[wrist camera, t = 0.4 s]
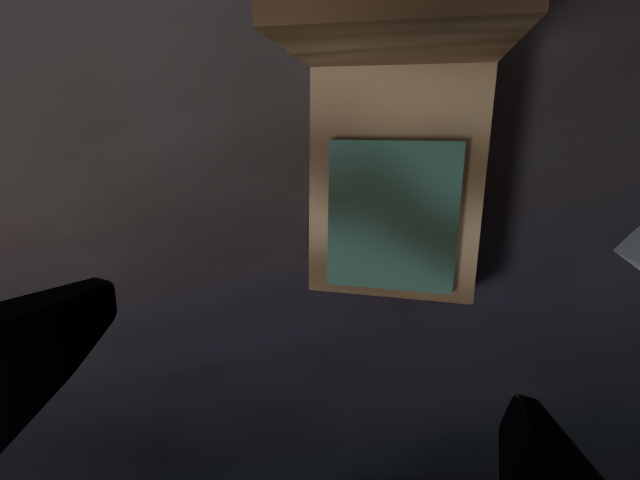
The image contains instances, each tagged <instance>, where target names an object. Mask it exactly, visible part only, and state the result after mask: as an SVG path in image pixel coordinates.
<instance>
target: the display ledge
mask: <svg viewBox="0 0 640 480" xmlns="http://www.w3.org/2000/svg"><path fill="white" fill-rule="evenodd" d="M549 1H550V0H252V21H253V27H254V28H255V29H257V30H258V31H259V32H261V33H262V34H264V35H265V36H267V37H268V38H269V39H271V40H272V41H274V42H275V43H277V44H278V45H279V46H281V47H282V48H284V49H285V50H287V51H288V52H289V53H291V54H292V55H294V56H295V57H297V58H298V59H299V60H301V61H302V62H304V63H305V64H307V65H308V66H309V67H310V195H309V290H319V291H330V292H341V293H352V294H363V295H374V296H385V297H396V298H407V299H418V300H429V301H440V302H451V303H462V304H473V298H474V288H475V279H476V269H477V259H478V249H479V240H480V230H481V220H482V211H483V201H484V191H485V182H486V172H487V162H488V152H489V143H490V133H491V123H492V114H493V104H494V94H495V85H496V75H497V65H498V62H499V61H500V60H501V59H502V58H503V57H504V56H505V55H506V54H507V53H508V52H509V51H510V50H511V49H512V48H513V47H514V46H515V45H516V44H517V43H518V42H519V41H520V40H521V39H522V38H523V37H524V36H525V35H526V34H527V33H528V32H529V31H530V30H531V29H532V28H533V27H534V26H535V25H536V24H537V23H538V22H539V21H540V20H541V19H542V18H543V17H544V16H545V15H546V14H547V13H548V9H549Z"/></svg>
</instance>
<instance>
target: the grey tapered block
mask: <svg viewBox="0 0 640 480" xmlns="http://www.w3.org/2000/svg"><path fill="white" fill-rule="evenodd" d="M614 251H615V252H616V253H618V254H619V255H620V256H622V257H623V258H624V259H625V260H627V261H628V262H629V263H631V264H632V265H633V266H635V267H636V268H637V269H638V270H640V226H639V227H637V228H636V229H635V230H634V231H633V232H632V233H631V234H630V235H629V236H628V237H627V238H626V239H624V240H623V241H622V242H621V243H620V244H619V245H618V246H617V247H616V248H615V249H614Z"/></svg>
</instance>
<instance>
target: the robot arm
mask: <svg viewBox="0 0 640 480" xmlns="http://www.w3.org/2000/svg"><path fill="white" fill-rule="evenodd" d="M116 313H117V306H116V297H115V288H114V285H113V283H112V282H110V281H108V280H104V279H101V278H90V279H86V280H82V281H79V282H75V283H71V284H67V285H63V286H59V287H55V288H51V289H47V290H43V291H39V292H36V293H32V294H28V295H24V296H20V297H16V298H12V299H8V300H4V301H0V454H1V453H2V452H3V451H4V449H5V448H6V447H7V446H8V445H9V444H10V443H11V442H12V441H13V440H14V438H15V437H16V436H17V435H18V434H19V433H20V432H21V431H22V430H23V429H24V428H25V426H26V425H27V424H28V423H29V422H30V421H31V420H32V419H33V418H34V417H35V415H36V414H37V413H38V412H39V411H40V410H41V409H42V408H43V407H44V406H45V404H46V403H47V402H48V401H49V400H50V399H51V398H52V397H53V396H54V395H55V394H56V392H57V391H58V390H59V389H60V388H61V387H62V386H63V385H64V384H65V383H66V381H67V380H68V379H69V378H70V377H71V376H72V375H73V373H74V372H75V371H76V370H77V368H78V367H79V366H80V365H81V363H82V362H83V361H84V359H85V358H86V357H87V355H88V354H89V353H90V351H91V350H92V349H93V347H94V346H95V345H96V343H97V342H98V341H99V339H100V338H101V337H102V335H103V334H104V333H105V331H106V330H107V329H108V327H109V326H110V325H111V323H112V322H113V321H114V319H115V317H116ZM499 480H606V479H605V478H604V477H603V476H602V475H601V473H600V472H599V471H598V470H597V469H596V468H595V466H594V465H593V464H592V463H591V462H590V460H589V459H588V458H587V457H586V456H585V455H584V453H583V452H582V451H581V450H580V449H579V447H578V446H577V445H576V444H575V443H574V442H573V440H572V439H571V438H570V437H569V436H568V434H567V433H566V432H565V431H564V430H563V429H562V427H561V426H560V425H559V424H558V423H557V421H556V420H555V419H554V418H553V417H552V415H551V414H550V413H549V412H548V411H547V410H546V408H545V407H544V406H543V405H542V404H541V403H540V402H539V401H538V400H537V399H535V398H531V397H528V396H524V395H520V394H516V395H514V396H513V397H512V399H511V401H510V403H509V406H508V408H507V410H506V412H505V414H504V416H503V418H502V421H501V423H500V427H499Z"/></svg>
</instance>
